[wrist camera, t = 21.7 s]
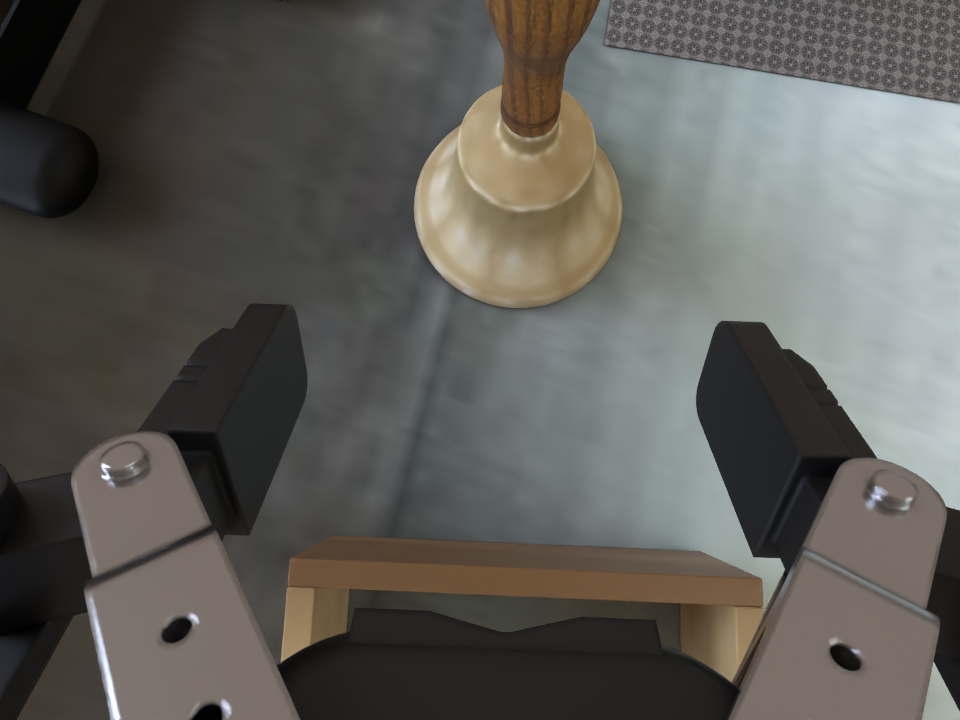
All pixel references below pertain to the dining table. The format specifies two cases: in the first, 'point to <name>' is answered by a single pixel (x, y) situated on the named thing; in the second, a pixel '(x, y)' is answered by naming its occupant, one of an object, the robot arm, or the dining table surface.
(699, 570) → the crate
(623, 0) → the architectural model
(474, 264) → the hand bell
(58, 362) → the dining table surface
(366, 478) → the dining table surface
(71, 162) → the toy submachine gun
